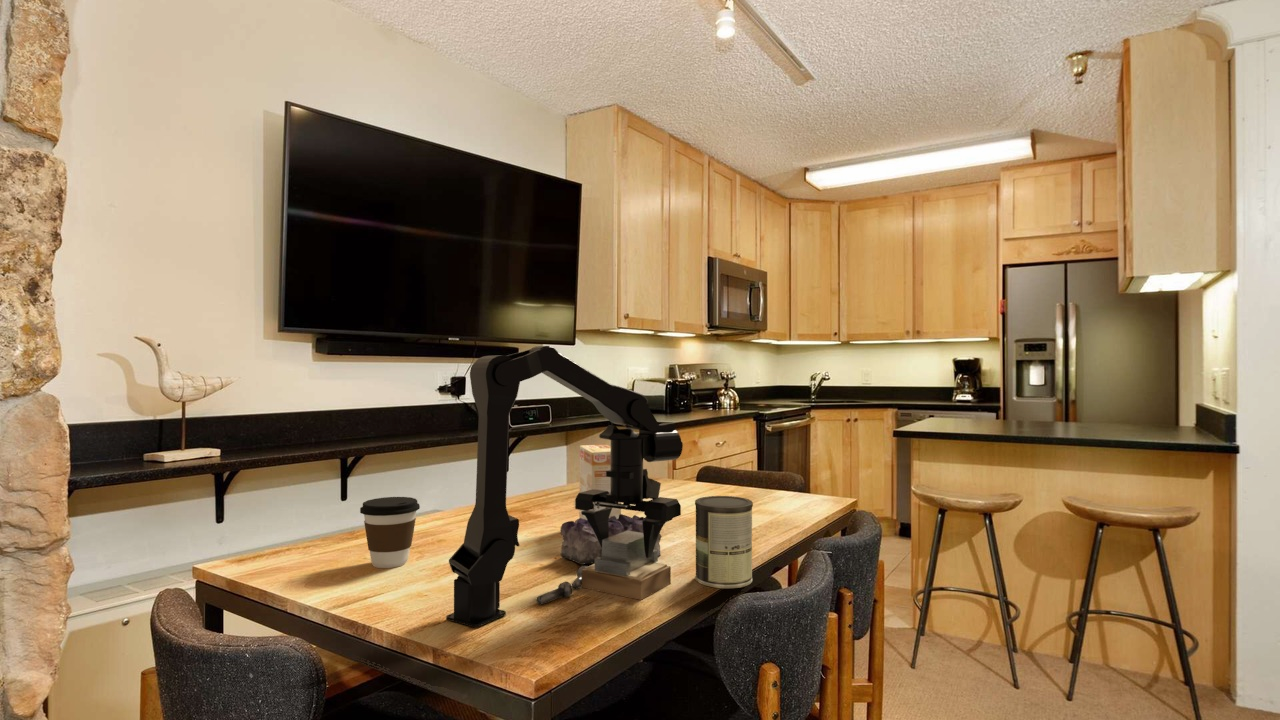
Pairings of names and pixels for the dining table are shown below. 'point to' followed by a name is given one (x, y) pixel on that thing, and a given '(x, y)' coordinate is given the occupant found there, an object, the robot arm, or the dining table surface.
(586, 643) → the dining table surface
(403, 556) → the coffee cup
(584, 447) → the coffeecake box
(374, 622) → the dining table surface
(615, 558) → the block
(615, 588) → the stand
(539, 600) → the bolt
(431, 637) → the dining table surface
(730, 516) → the coffee can
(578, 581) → the bolt
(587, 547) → the geode
